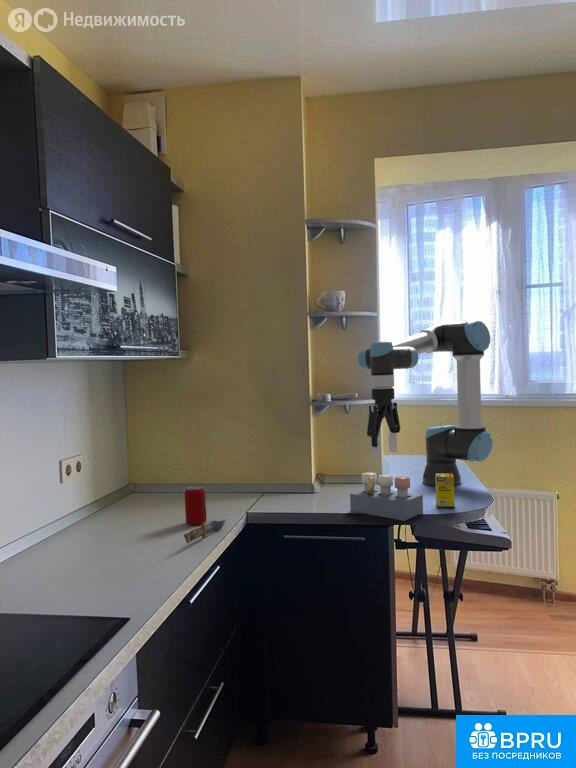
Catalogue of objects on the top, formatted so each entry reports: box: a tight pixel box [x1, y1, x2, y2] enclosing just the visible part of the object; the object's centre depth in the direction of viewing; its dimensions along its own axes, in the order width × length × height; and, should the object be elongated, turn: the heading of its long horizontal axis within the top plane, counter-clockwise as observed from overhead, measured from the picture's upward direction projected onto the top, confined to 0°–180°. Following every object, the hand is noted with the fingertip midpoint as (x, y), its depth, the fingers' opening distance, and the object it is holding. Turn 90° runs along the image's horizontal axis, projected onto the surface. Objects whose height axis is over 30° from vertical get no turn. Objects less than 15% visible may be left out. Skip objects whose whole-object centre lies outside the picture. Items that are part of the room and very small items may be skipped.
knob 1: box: [361, 472, 378, 493], centre depth 200 cm, size 5×5×8 cm
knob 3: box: [394, 476, 411, 499], centre depth 191 cm, size 5×5×8 cm
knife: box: [183, 518, 227, 544], centre depth 175 cm, size 25×1×5 cm, turn 158°
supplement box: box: [435, 474, 456, 509], centre depth 200 cm, size 6×6×11 cm
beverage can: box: [184, 485, 208, 526], centre depth 191 cm, size 7×7×12 cm
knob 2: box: [377, 473, 394, 496], centre depth 196 cm, size 5×5×8 cm
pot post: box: [367, 477, 375, 496], centre depth 195 cm, size 2×2×6 cm
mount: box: [349, 487, 424, 522], centre depth 196 cm, size 12×21×6 cm, turn 48°
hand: (384, 454), depth 195 cm, fingers open, 10 cm apart
